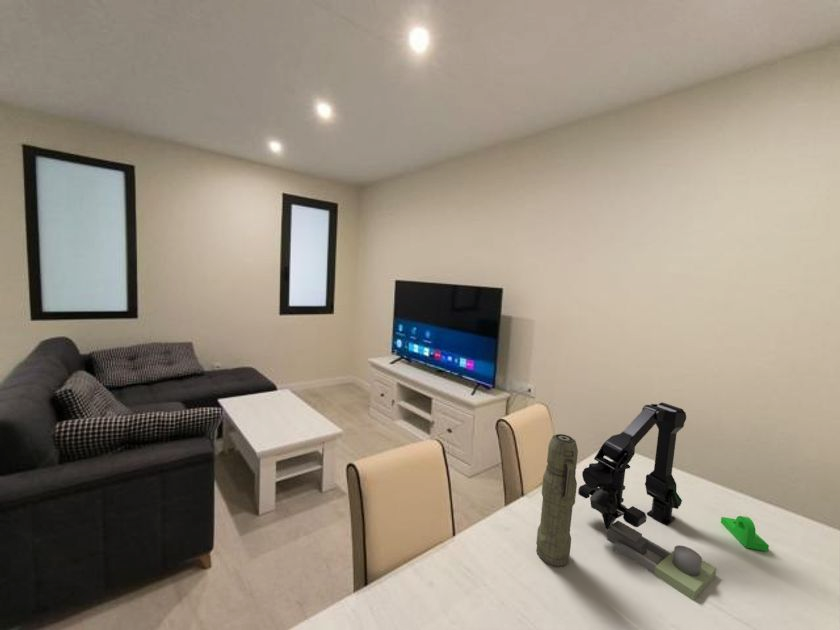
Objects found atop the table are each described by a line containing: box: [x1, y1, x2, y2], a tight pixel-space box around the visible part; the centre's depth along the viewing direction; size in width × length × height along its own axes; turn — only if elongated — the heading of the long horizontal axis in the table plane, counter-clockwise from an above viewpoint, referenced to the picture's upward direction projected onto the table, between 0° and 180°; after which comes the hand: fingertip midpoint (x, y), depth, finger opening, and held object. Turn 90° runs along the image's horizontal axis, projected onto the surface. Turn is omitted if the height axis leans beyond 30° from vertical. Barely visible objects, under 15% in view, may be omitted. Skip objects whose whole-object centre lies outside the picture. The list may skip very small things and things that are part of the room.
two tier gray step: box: [607, 520, 649, 557], centre depth 106 cm, size 5×9×5 cm, turn 35°
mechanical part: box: [720, 515, 770, 552], centre depth 115 cm, size 12×6×8 cm, turn 169°
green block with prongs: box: [612, 528, 717, 601], centre depth 101 cm, size 16×20×6 cm
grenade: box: [535, 433, 579, 569], centre depth 99 cm, size 9×12×35 cm
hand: (607, 528), depth 112 cm, fingers closed
